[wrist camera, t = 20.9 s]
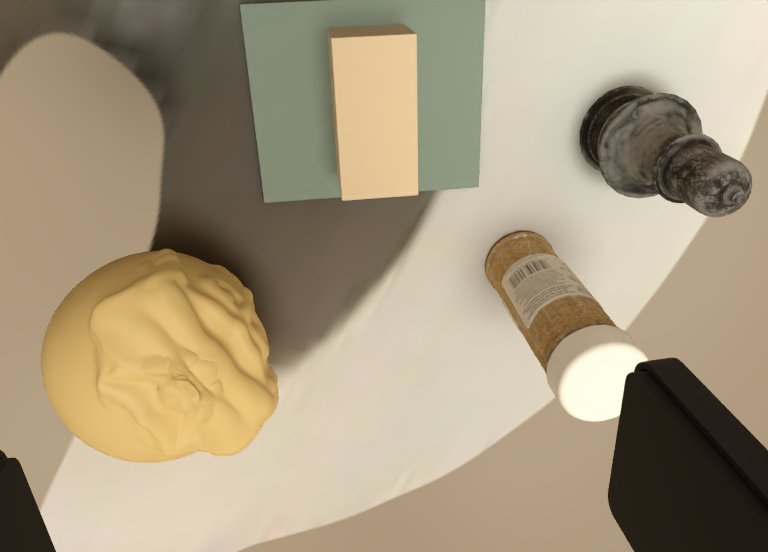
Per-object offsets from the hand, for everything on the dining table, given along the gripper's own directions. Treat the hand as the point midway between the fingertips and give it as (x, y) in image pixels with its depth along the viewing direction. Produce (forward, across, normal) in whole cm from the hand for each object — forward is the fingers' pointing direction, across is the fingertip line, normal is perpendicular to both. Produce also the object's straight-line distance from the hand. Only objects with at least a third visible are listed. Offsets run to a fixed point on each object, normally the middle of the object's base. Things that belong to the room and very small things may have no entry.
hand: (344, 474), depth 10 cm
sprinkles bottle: (+29, -13, +12) cm, 34 cm away
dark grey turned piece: (+29, -19, +4) cm, 35 cm away
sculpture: (+30, +9, +13) cm, 33 cm away
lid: (+29, -4, +1) cm, 30 cm away
